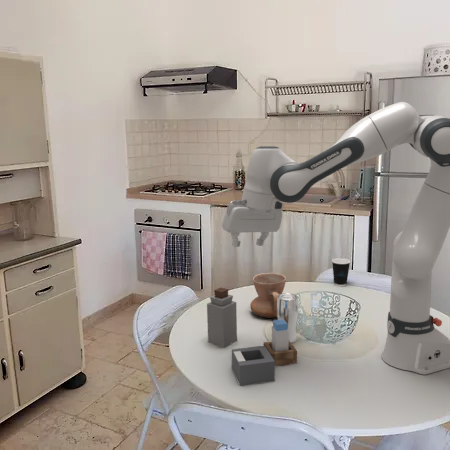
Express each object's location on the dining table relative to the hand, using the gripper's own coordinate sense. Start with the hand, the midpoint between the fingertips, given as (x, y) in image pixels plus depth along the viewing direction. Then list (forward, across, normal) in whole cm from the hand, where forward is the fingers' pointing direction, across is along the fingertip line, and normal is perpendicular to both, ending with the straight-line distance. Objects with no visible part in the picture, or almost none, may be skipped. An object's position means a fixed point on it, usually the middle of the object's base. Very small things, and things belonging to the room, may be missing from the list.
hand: (247, 245), depth 147 cm
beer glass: (+32, +21, -5) cm, 38 cm away
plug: (+32, +10, -13) cm, 36 cm away
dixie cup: (+27, +76, +18) cm, 83 cm away
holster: (+32, +10, -13) cm, 36 cm away
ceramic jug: (+33, +31, +14) cm, 48 cm away
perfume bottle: (+36, +4, +7) cm, 37 cm away
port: (+34, -2, -15) cm, 37 cm away
